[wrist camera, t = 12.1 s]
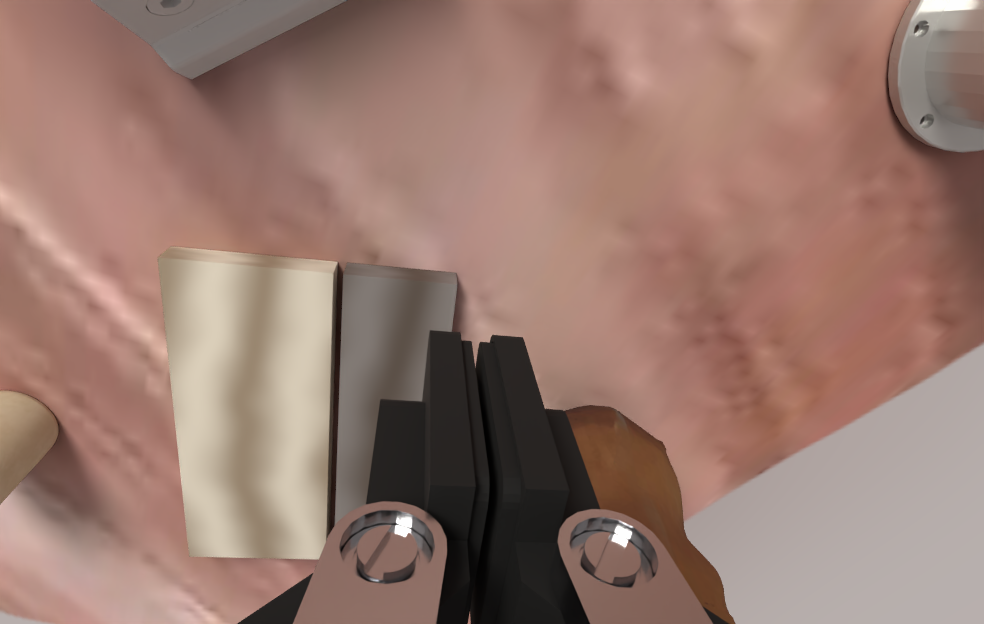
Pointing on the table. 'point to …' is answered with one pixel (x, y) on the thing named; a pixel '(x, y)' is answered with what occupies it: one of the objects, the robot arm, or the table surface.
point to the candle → (22, 437)
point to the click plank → (252, 399)
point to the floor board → (382, 358)
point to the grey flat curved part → (210, 26)
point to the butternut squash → (643, 491)
